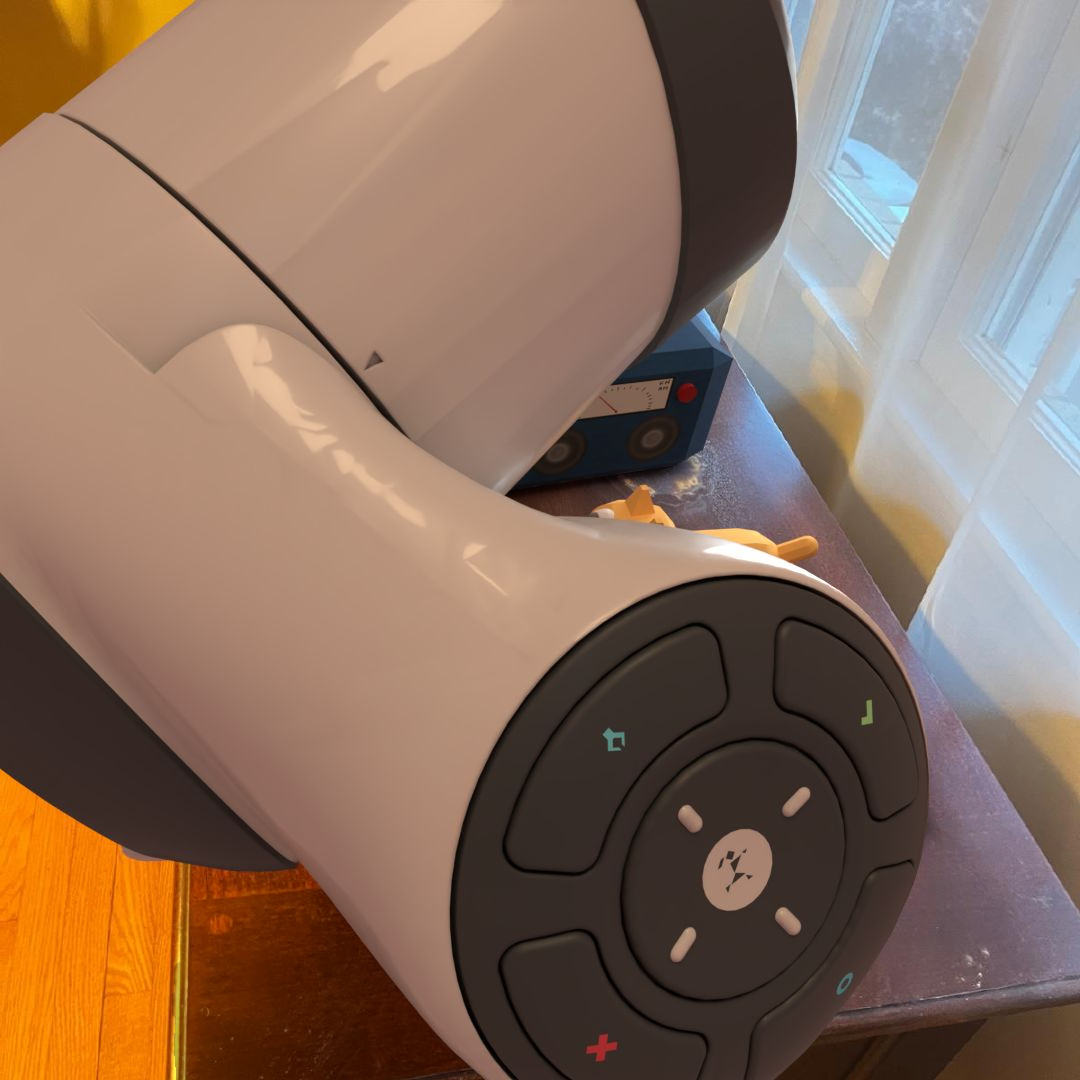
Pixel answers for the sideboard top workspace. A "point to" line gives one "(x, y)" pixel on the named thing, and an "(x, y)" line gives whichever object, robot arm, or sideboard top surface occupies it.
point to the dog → (645, 511)
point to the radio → (643, 414)
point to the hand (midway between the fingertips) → (376, 643)
